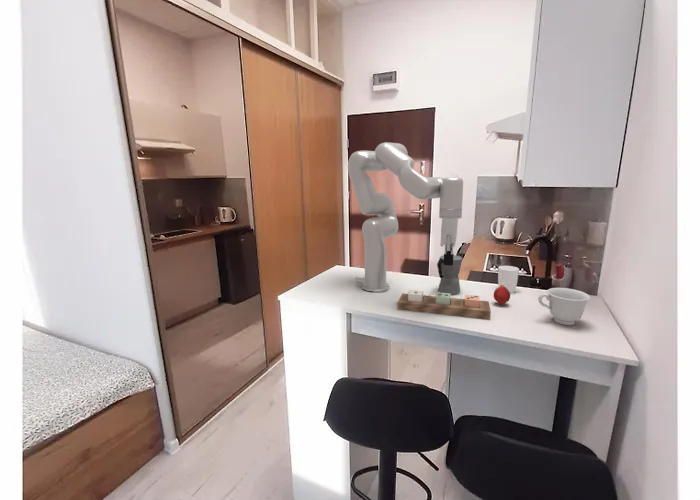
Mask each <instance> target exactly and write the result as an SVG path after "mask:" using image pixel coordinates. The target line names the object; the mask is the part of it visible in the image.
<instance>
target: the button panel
mask: <svg viewBox="0 0 700 500" xmlns="http://www.w3.org/2000/svg"><path fill="white" fill-rule="evenodd" d="M408 294H409V293H401V295H400V296H399V299H398V301H397V311H406V312H408V311H409V312H415V313H423V314H424V313H426V314H434V315H443V316H451V317H453V316H454V317H462V318H471V319H481V320H489V321H490V320H491V315H492V314H491V313H492V311H491V306H490V302H489V300H480V307H479V308H473V307H464V299H465V298H456V297H450V305H443V304H436V295H435V296H434V295H424V294H423V301H422V302H413V301H408Z"/></svg>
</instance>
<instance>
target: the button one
mask: <svg viewBox="0 0 700 500" xmlns="http://www.w3.org/2000/svg"><path fill="white" fill-rule="evenodd" d="M407 294H408V301H413V302H422V301H423V295H424V290H416V289H409V292H408V293H407Z"/></svg>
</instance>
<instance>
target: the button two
mask: <svg viewBox="0 0 700 500" xmlns="http://www.w3.org/2000/svg"><path fill="white" fill-rule="evenodd" d="M435 296H436V304H443V305H450V298H451V296H452V295H451V293H440V292H439V291H438V292H437V291H436V295H435Z"/></svg>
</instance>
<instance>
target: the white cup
mask: <svg viewBox="0 0 700 500" xmlns="http://www.w3.org/2000/svg"><path fill="white" fill-rule="evenodd" d="M497 269H498V270H497V271H498V273H497V282H498V283H497V285H498V287H500V285H504V287H506V288H507V289H508V291H509V292H510V294H514V293H516V289H517V286H518V285H517V284H518V280H519V271H520V268H518V267H516V266H513V265H512V266H511V265H500V266H498V268H497ZM498 287H497V288H498Z"/></svg>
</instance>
